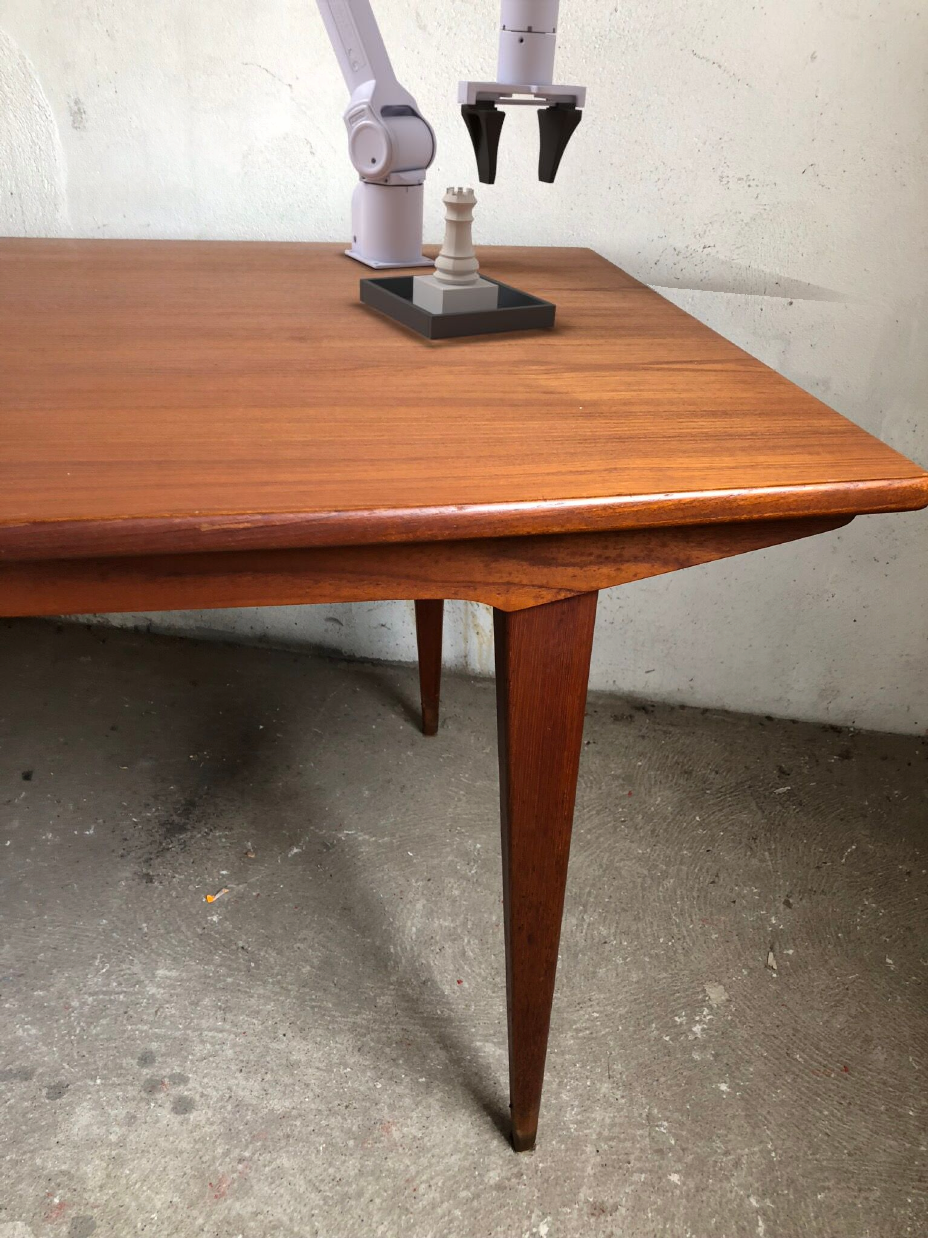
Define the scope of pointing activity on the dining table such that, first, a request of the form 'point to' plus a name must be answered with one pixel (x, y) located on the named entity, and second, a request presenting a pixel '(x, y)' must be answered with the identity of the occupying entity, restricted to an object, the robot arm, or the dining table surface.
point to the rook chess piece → (457, 240)
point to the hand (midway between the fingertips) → (516, 182)
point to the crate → (509, 316)
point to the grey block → (453, 295)
